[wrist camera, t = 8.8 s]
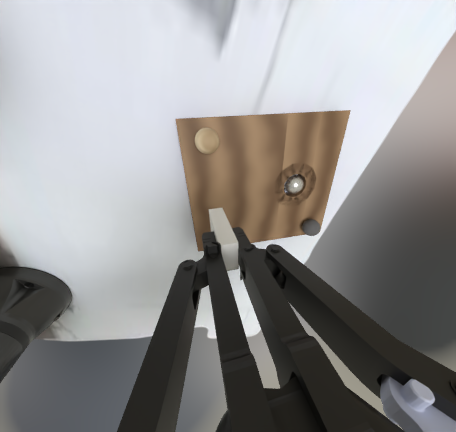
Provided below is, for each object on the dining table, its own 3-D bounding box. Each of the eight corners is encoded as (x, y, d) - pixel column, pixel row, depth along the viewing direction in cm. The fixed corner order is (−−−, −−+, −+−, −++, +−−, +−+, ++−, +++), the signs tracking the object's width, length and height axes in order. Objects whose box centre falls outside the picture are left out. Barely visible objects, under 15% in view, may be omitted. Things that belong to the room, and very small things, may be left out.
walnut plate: (197, 244, 37) (198, 251, 35) (176, 119, 26) (175, 118, 24) (313, 226, 41) (319, 232, 39) (339, 111, 30) (350, 110, 28)
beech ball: (196, 153, 26) (196, 156, 23) (192, 128, 25) (193, 128, 22) (218, 151, 27) (221, 154, 24) (216, 126, 25) (220, 126, 22)
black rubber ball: (297, 231, 38) (306, 240, 35) (300, 217, 36) (310, 225, 33) (311, 228, 38) (322, 237, 35) (315, 215, 37) (326, 223, 34)
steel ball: (293, 197, 32) (306, 193, 33) (295, 179, 30) (309, 175, 31) (279, 192, 35) (292, 188, 36) (281, 175, 33) (294, 172, 34)
